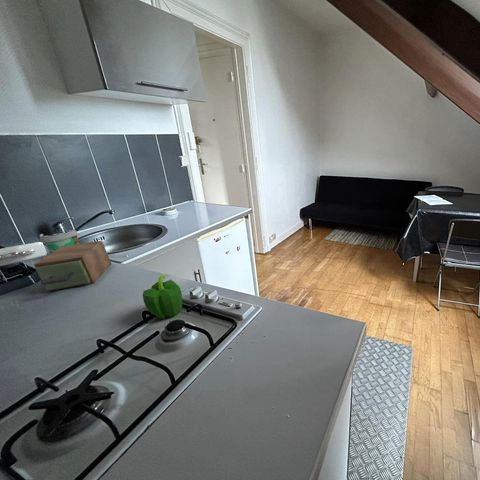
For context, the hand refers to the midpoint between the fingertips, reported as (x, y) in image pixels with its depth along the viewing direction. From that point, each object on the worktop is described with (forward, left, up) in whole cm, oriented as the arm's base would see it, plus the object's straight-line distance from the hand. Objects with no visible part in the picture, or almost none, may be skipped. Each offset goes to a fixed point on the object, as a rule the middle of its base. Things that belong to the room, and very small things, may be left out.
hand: (6, 256), depth 65 cm
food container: (-7, +46, -17) cm, 50 cm away
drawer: (+5, +15, -16) cm, 23 cm away
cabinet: (+5, +19, -17) cm, 26 cm away
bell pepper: (+32, -21, -17) cm, 42 cm away
